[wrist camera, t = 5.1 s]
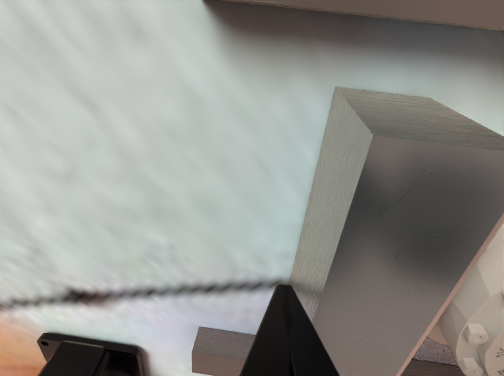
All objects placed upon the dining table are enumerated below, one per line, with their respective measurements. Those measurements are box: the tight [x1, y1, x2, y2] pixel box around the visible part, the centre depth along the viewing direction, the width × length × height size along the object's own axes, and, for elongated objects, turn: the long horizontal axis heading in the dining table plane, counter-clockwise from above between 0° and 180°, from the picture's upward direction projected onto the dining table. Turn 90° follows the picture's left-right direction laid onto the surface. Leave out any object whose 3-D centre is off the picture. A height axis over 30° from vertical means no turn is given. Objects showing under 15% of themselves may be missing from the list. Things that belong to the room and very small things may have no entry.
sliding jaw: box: [289, 87, 504, 376], centre depth 10 cm, size 12×4×5 cm, turn 174°
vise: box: [192, 0, 504, 376], centre depth 10 cm, size 20×22×4 cm
